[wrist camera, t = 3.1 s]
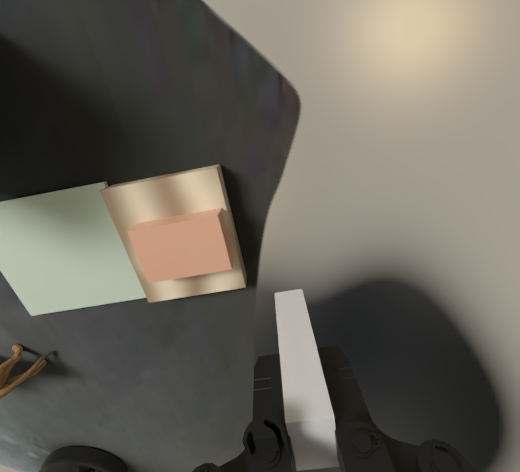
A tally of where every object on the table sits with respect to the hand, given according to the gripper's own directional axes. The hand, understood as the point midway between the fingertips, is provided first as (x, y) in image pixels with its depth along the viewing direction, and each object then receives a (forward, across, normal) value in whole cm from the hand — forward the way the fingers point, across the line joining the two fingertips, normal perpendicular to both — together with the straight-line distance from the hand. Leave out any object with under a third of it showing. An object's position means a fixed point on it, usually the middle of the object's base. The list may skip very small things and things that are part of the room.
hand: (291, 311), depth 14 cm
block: (+14, -10, 0) cm, 17 cm away
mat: (+16, -26, 0) cm, 30 cm away
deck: (+16, -11, 0) cm, 19 cm away
